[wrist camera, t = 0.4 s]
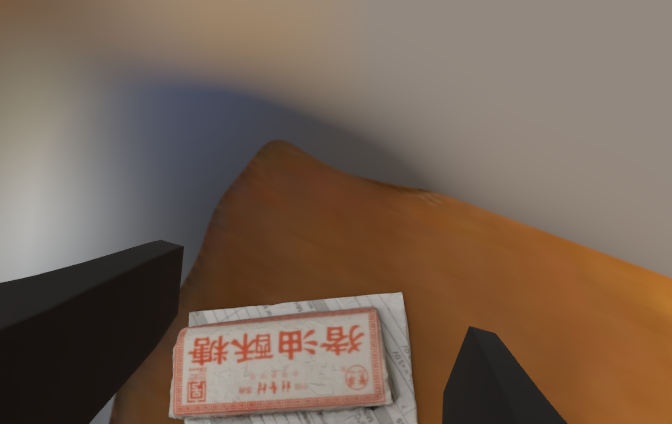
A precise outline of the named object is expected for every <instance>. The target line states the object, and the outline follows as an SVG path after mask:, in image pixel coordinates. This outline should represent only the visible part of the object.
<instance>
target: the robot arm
mask: <svg viewBox="0 0 672 424" xmlns="http://www.w3.org/2000/svg"><path fill="white" fill-rule="evenodd" d="M183 250H184V247H183V246H180V245H177V244H173V243H169V242H166V241H163V240H159V241H154V242H150V243H147V244H143V245H139V246H136V247H133V248H129V249H126V250H123V251H120V252H117V253H113V254H110V255H106V256H104V257H100V258H97V259H93V260H90V261H87V262H83V263H80V264H76V265H72V266H69V267H65V268H61V269H58V270H54V271H50V272H46V273H42V274H39V275H35V276H31V277H26V278H22V279H17V280H12V281H8V282H3V283H0V424H89V423H90V422H91V421H92V420H93V418H94V417H95V416H96V415H97V414H98V413H99V411H100V410H101V409H102V408H103V407H104V406H105V405H106V403H107V402H108V401H109V400H110V399H111V398H112V397H113V396H114V394H115V393H116V392H117V391H118V390H119V389H120V388H121V387H122V385H123V384H124V383H125V382H126V381H127V380H128V379H129V377H130V376H131V375H132V374H133V373H134V372H135V371H136V369H137V368H138V367H139V366H140V365H141V364H142V363H143V361H144V360H145V359H146V358H147V357H148V356H149V354H150V353H151V352H152V351H153V350H154V348H155V347H156V346H157V345H158V343H159V342H160V340H161V339H162V337H163V336H164V334H165V333H166V331H167V330H168V328H169V327H170V325H171V323H172V322H173V320H174V319H175V317H176V316H177V314H178V303H179V293H180V282H181V272H182V260H183ZM442 424H567V422H566V421H565V420H564V419H563V418H562V417H561V416H560V415H559V413H558V412H557V411H556V410H555V409H554V407H553V406H552V405H551V404H550V403H549V401H548V400H547V399H546V398H545V396H544V395H543V394H542V393H541V391H540V390H539V389H538V388H537V386H536V385H535V384H534V383H533V381H532V380H531V379H530V377H529V376H528V375H527V373H526V372H525V371H524V370H523V368H522V367H521V366H520V364H519V363H518V362H517V360H516V359H515V358H514V356H513V355H512V354H511V352H510V351H509V350H508V348H507V347H506V346H505V345H504V343H503V342H502V341H501V340H500V338H499V337H498V336H497V335H496V334H495V333H492V332H489V331H485V330H482V329H478V328H474V327H471V326H469V329H468V331H467V334H466V336H465V339H464V341H463V344H462V346H461V349H460V351H459V354H458V357H457V359H456V362H455V364H454V367H453V369H452V372H451V374H450V377H449V379H448V382H447V384H446V387H445V390H444V394H443V419H442Z"/></svg>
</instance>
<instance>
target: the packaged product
mask: <svg viewBox="0 0 672 424" xmlns="http://www.w3.org/2000/svg"><path fill="white" fill-rule="evenodd" d="M172 357H173V369H172V370H173V378H172V381H171V390H170V395H171V401H170V409H169V417H173V418H174V419H177V418H179V419H184V424H418V423H417V405H416V399H415V393H414V387H413V380H412V367H411V351H410V341H409V332H408V322H407V317H406V312H405V307H404V301H403V296H402V292H399V293H388V294H374V295H363V296H354V297H343V298H332V299H322V300H312V301H303V302H289V303H281V304H276V305H273V306H270V305H262V306H248V307H240V308H232V309H219V310H210V311H197V312H190V313H189V327H186V328H184V329H182V330H181V331H180V333H179V335H178V338H177V342H176V345H175V347H174V348H173V356H172Z"/></svg>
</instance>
